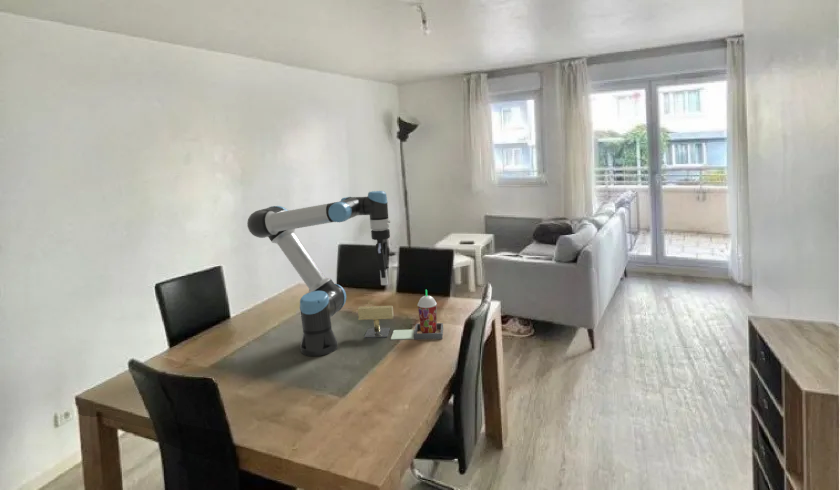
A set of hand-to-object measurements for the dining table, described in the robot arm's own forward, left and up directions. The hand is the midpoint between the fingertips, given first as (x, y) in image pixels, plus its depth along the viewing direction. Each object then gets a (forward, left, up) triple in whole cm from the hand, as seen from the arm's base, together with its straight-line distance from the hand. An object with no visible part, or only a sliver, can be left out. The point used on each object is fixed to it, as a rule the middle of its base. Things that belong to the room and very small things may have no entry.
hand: (384, 284), depth 208 cm
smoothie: (+17, +5, -25) cm, 30 cm away
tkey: (-6, +6, -23) cm, 25 cm away
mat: (+6, +4, -24) cm, 25 cm away
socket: (+17, +5, -24) cm, 30 cm away
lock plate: (-6, +7, -24) cm, 26 cm away
